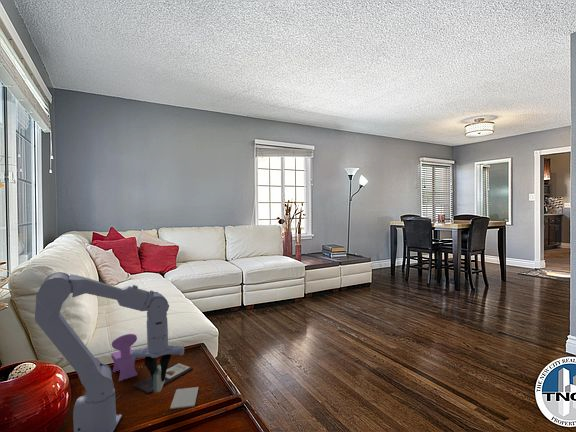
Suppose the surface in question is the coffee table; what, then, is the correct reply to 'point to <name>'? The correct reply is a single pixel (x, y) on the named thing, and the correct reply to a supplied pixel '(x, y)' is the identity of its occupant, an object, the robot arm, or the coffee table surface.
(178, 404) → the mat
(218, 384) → the coffee table surface
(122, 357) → the toy chair
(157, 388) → the tile
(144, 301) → the robot arm
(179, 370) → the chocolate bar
